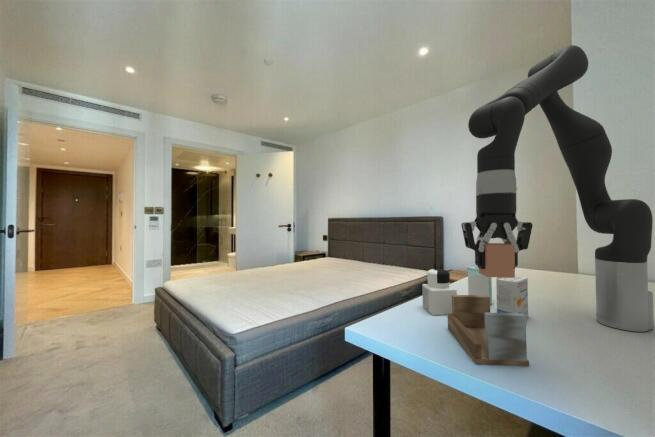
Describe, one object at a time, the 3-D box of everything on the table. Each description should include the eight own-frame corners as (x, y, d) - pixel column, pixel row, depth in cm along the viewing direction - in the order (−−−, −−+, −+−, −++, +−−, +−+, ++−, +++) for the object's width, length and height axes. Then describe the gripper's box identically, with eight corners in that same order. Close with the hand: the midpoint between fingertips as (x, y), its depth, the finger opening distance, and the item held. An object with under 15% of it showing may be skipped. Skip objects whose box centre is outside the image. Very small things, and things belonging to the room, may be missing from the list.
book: (504, 273, 59) (504, 243, 59) (515, 277, 55) (514, 244, 55) (478, 273, 60) (478, 242, 60) (486, 277, 56) (486, 244, 56)
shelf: (487, 329, 68) (486, 291, 68) (529, 366, 51) (527, 315, 51) (447, 328, 69) (446, 291, 69) (475, 363, 53) (474, 314, 53)
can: (464, 301, 91) (463, 267, 91) (476, 298, 94) (475, 265, 94) (484, 307, 85) (483, 270, 85) (496, 303, 88) (495, 268, 88)
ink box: (516, 324, 71) (515, 270, 71) (496, 319, 75) (495, 268, 75) (529, 317, 75) (527, 266, 75) (509, 312, 79) (508, 264, 79)
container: (445, 306, 87) (444, 267, 87) (457, 314, 79) (456, 272, 79) (422, 307, 86) (421, 268, 86) (432, 315, 79) (431, 272, 79)
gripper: (520, 193, 60) (520, 266, 60) (455, 194, 62) (455, 265, 62) (542, 190, 53) (543, 273, 53) (468, 191, 55) (468, 271, 55)
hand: (495, 268), depth 58 cm, fingers closed on book, 5 cm apart
